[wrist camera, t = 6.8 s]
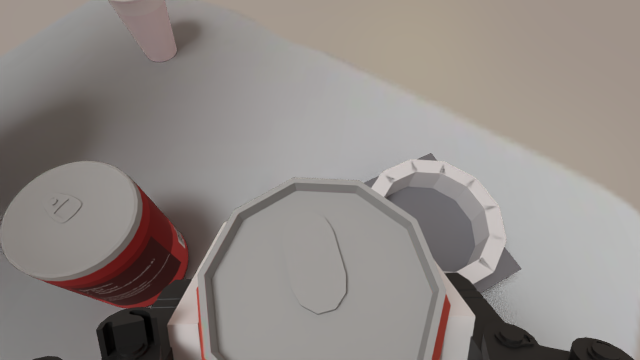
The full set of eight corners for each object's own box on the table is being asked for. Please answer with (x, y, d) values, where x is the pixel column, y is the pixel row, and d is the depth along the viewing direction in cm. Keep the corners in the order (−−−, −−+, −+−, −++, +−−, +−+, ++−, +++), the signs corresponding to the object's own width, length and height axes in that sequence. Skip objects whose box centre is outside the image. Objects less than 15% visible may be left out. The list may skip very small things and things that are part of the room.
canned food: (125, 215, 32) (48, 148, 23) (205, 234, 32) (161, 173, 22) (79, 297, 29) (-36, 259, 19) (169, 321, 28) (96, 293, 18)
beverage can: (362, 261, 20) (401, 133, 9) (403, 389, 16) (533, 418, 6) (256, 289, 19) (167, 185, 8) (278, 427, 16) (181, 532, 5)
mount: (331, 214, 33) (336, 182, 27) (420, 173, 36) (441, 136, 30) (400, 337, 28) (423, 328, 22) (498, 279, 30) (542, 258, 25)
